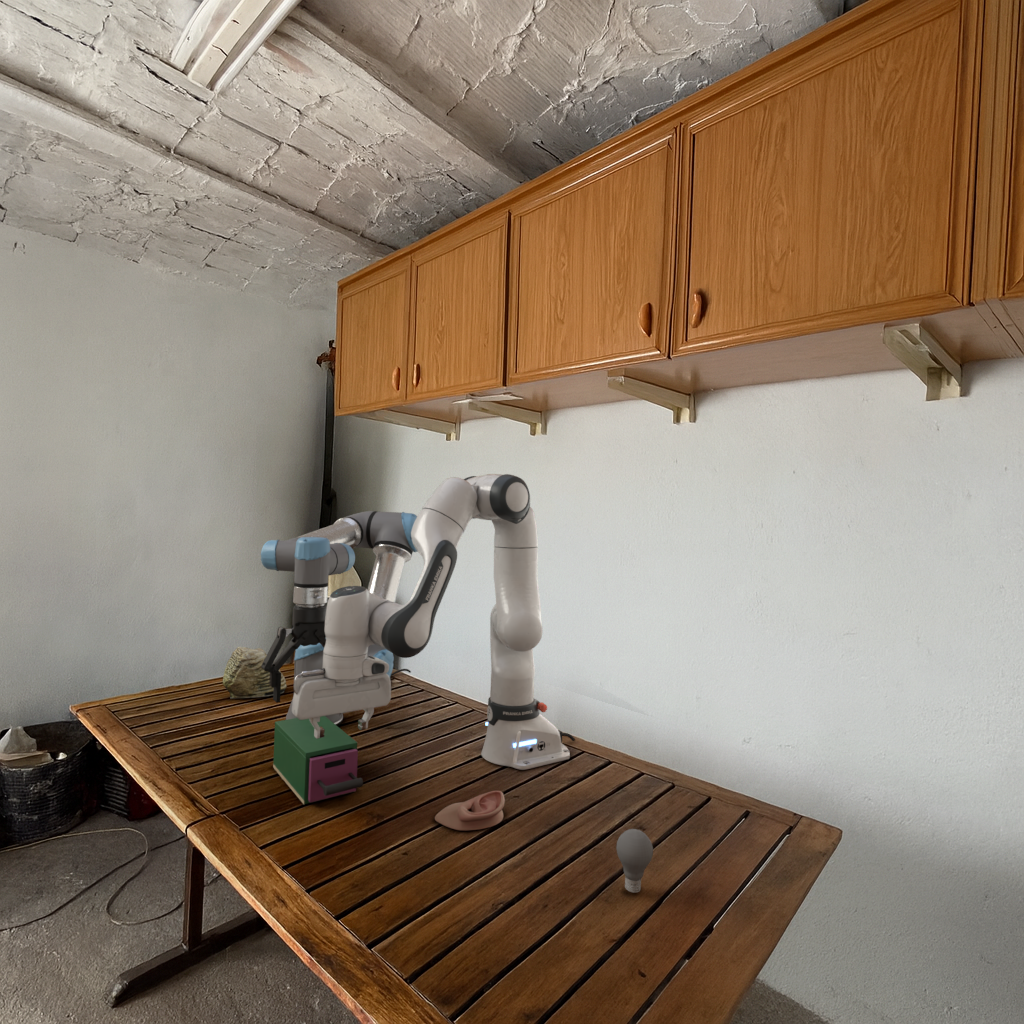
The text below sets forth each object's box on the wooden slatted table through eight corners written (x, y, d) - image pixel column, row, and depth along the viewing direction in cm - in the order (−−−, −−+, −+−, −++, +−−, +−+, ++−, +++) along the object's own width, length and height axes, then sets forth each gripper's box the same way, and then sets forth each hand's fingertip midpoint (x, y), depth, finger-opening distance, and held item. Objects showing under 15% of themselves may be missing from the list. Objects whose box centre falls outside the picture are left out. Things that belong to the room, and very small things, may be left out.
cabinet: (355, 791, 137) (357, 742, 137) (303, 804, 130) (305, 753, 130) (320, 757, 154) (322, 713, 153) (273, 767, 147) (274, 721, 147)
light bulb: (610, 879, 108) (613, 822, 108) (644, 879, 109) (647, 822, 109) (619, 902, 102) (622, 840, 102) (655, 901, 103) (658, 840, 103)
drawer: (367, 801, 130) (369, 759, 130) (320, 814, 124) (321, 770, 124) (322, 758, 151) (324, 721, 151) (280, 767, 145) (281, 729, 145)
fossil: (218, 695, 195) (220, 647, 195) (278, 685, 208) (279, 640, 207) (228, 703, 189) (230, 653, 188) (289, 692, 201) (290, 645, 201)
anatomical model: (430, 806, 123) (447, 781, 135) (429, 826, 123) (447, 799, 135) (496, 815, 121) (508, 789, 132) (495, 836, 121) (508, 808, 132)
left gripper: (258, 610, 135) (254, 709, 135) (367, 603, 150) (364, 692, 151) (249, 605, 141) (245, 699, 141) (355, 599, 156) (351, 684, 156)
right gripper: (300, 676, 121) (296, 748, 121) (396, 663, 134) (392, 729, 134) (288, 668, 126) (285, 737, 126) (382, 657, 139) (379, 719, 139)
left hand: (306, 696), depth 146 cm, fingers open, 13 cm apart
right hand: (341, 732), depth 130 cm, fingers open, 8 cm apart
